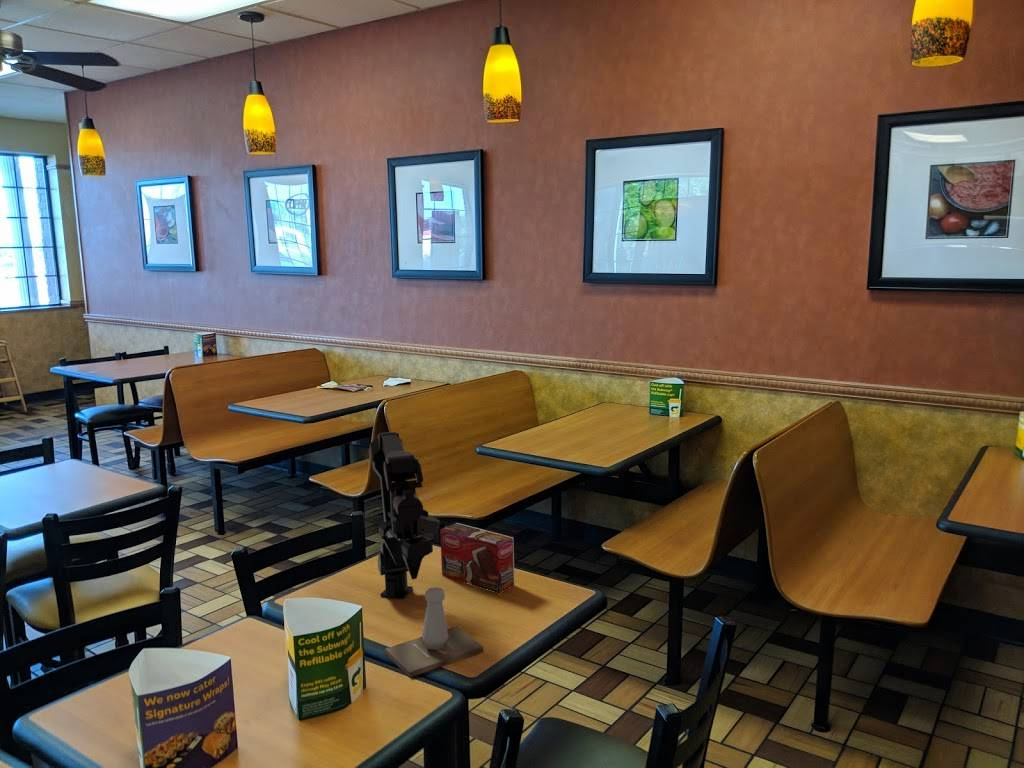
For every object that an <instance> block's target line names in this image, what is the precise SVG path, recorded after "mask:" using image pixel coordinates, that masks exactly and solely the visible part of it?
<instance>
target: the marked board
mask: <svg viewBox="0 0 1024 768" xmlns="http://www.w3.org/2000/svg"><path fill="white" fill-rule="evenodd" d="M447 631H448V639H447V641H446V643H445V645H444V647H443V648H442V649H439V650H431V649H428V648H427V646H426V645H425V643H424V641H423V639H422V636H420V637H417V638H414V639H411V640H407V641H405V642H402V643H398V644H395V645H392V646H389V647H386V648H384V654H385V655H386V656H387V657H388V658H389V659H390V660H391V661H392V663H394V664H395V665H396V666H397V667H398V668H399V669H400V670H401V671H403V673H404V674H405V675H406V676H407V677H408V678H412V677H416V676H419V675H422V674H423V673H427V672H431V671H432V670H436V669H438V668H442V667H444V666H446V665H450V664H452V663H456V662H458V661H460V660H464V659H466V658H469V657H472V656H475V655H478V654H480V653H484V652H485V651H484V646H483V645H482V644H481V643H479V642H478V641H477V640H476V639H474V638H473V637H472V636H470V635H469V634H468V633H466V632H465V631H464V630H462V629H461V627H459V626H458V625H453V626H451V627H447Z"/></svg>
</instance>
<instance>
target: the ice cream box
mask: <svg viewBox="0 0 1024 768" xmlns="http://www.w3.org/2000/svg"><path fill="white" fill-rule="evenodd" d="M439 532H440V533H439V535H440V552H441V553H440V555H441V557H440V558H441V576H442V575H443V576H442V577H444V576H446V577H445V578H447V577H448V578H447V579H450V578H452V579H451V580H453V579H454V581H456V580H458V581H457V582H460V581H461V582H460V583H463V582H465V583H464V584H466V583H469V584H472V585H475V586H478V587H481V588H484V589H488V590H491V591H494V592H497V593H501V592H502V591H504V590H506V589H508V588H509V587H511V586H513V585H515V551H514V543H515V542H514V537H513V536H509V535H504V534H501V533H497V532H493V531H489V530H485V529H483V528H478V527H473V526H472V525H471V526H470V525H466V524H463V523H458V522H455V523H452V524H450V525H448V526H445V527H443V528H441V529H440V530H439ZM469 584H468V585H469ZM472 585H471V586H472ZM475 586H474V587H475ZM515 586H516V585H515ZM478 587H477V588H478ZM513 587H514V586H513ZM481 588H480V589H481ZM511 588H512V587H511ZM484 589H483V590H484ZM509 589H510V588H509ZM509 589H508V590H509ZM488 590H487V591H488ZM491 591H490V592H491ZM506 591H507V590H506ZM494 592H493V593H494ZM504 592H505V591H504ZM497 593H496V594H497ZM502 593H503V592H502ZM502 593H501V594H502Z"/></svg>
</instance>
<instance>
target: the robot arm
mask: <svg viewBox="0 0 1024 768" xmlns="http://www.w3.org/2000/svg"><path fill="white" fill-rule="evenodd" d="M369 443H370V444H369V449H368V455H369V463H372V469H373V471H374V472H375V474H376V475H377V476H378V477H379V481H380V491H381V492H380V493H381V502H382V513H383V521H381V522H380V524H379V525H378V526H377V527H378V534H379V536H380V538H381V540H382V541H381V543H380V552H378V557H377V567H378V568H377V569H378V573H379V575H380V576H384V583H385V588H384V589H383V591H382V592H381V593H380V597H387V598H395V599H405V597H407V595H408V594H409V593H410V592H411V591H413V588H414V586H410V585H409V584H408V573H409V576H410V578H411V579H412V580H417V579H418V575H419V571H420V568H421V565H422V561H423V559H424V558H425V556H429V554H432V553H433V551H434V548H433V545H434V544H433V543H432V542H431V541H430V540H429V539H428V538H426V537H424V536H423V533H427V534H428V533H429V534H432V535H438V533H439V528H440V525H441V521H440V520H439V519H438V518H436V517H434V516H432V515H429V511H428V510H426V509H424V505H423V503H422V501H421V500H420V498H419V497H418V495H417V491H416V489H418V488H419V489H421V488H422V487H423V482H424V476H423V472H422V466H421V463H420V462H419V459H418V458H416V457H415V455H414V454H413V452H411V451H405V449H404V443H403V440H402V439H401V437H400V434H399V432H396V431H389V432H381V433H378V434H377V438H375V439H374V440H373V441H371V442H369ZM420 535H421V536H420ZM415 536H416V537H415ZM417 536H418V537H417Z"/></svg>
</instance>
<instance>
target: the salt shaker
mask: <svg viewBox="0 0 1024 768" xmlns="http://www.w3.org/2000/svg"><path fill="white" fill-rule="evenodd" d="M445 597H446V594H445V590H444V589H443V588H442V587H436V586H435V587H430V588H428V589H426V591H425V593H424V599H425V601H426V602H427V603H426V609H425V615H424V621H423V628H422V632H421V637H422V639H423V641H424V643H425V645H426V646H427V648H428V649H431V650H439V649H442V648H443V647H444V645H445V643H446V641H447V639H448V631H447V628H448V627H447V626H448V625H447V621H446V615H445V611H444V610H445V609H444V605H443V601H444V600H445Z"/></svg>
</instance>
